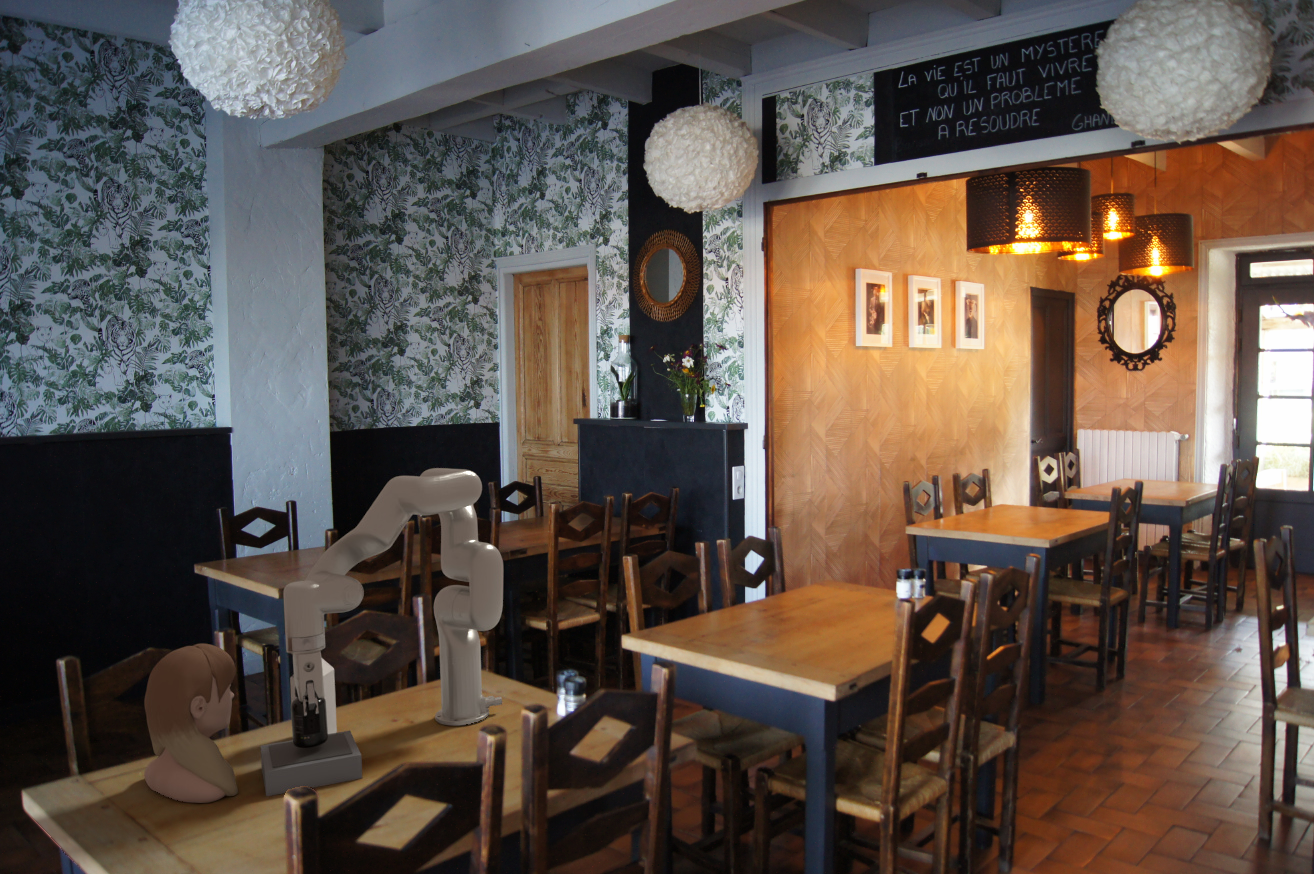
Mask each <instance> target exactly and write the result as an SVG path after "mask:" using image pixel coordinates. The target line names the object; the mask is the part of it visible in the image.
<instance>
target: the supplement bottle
mask: <svg viewBox="0 0 1314 874" xmlns="http://www.w3.org/2000/svg"><path fill="white" fill-rule="evenodd" d="M306 689H307V687H306ZM304 696H305V695H304ZM295 697H296V699H294V700H293V701H292V703H290V717H291V718H290V719H291V730H292V732H291V734H292V740H293V744H294V745H295V746H296V747H299V748H311V747H315V746H319V745H321V744H323V743H325V742H326V741H327V739H328V728H327V712H326V700H325V698H323V699H321V698H319V697H318V695H317V699H318V700H317V701H318V713H319V716H320V732H319V733H315V734H310V735H304V734H303V719H302V715H304V711H303V702H301V701H299V698H298V694H297V690H296V686H295ZM305 699H308V697H305ZM307 705H308V703H306V706H307Z"/></svg>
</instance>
